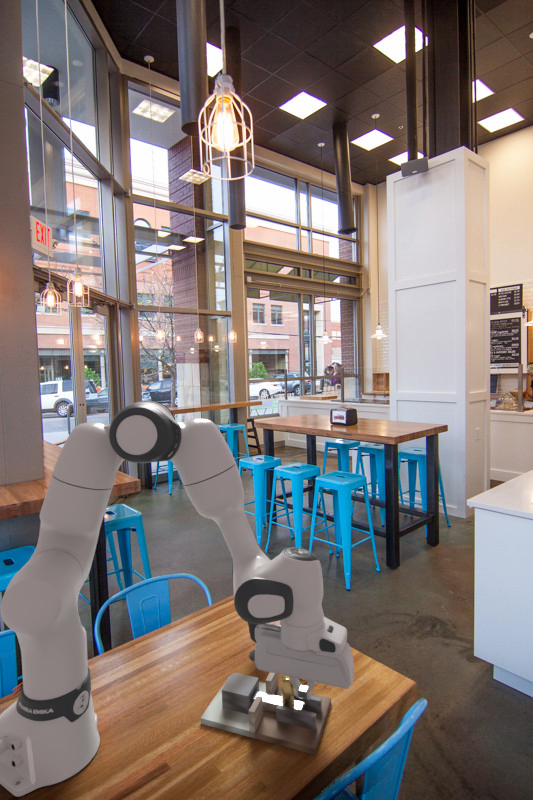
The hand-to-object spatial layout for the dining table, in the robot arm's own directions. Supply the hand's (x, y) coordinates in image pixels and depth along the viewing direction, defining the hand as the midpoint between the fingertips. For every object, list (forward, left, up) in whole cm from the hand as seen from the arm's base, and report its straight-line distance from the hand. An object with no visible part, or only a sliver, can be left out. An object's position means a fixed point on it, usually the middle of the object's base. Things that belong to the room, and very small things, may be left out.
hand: (303, 696), depth 89 cm
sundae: (-17, +18, -6) cm, 26 cm away
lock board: (-8, 0, -5) cm, 10 cm away
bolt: (-6, 0, -4) cm, 7 cm away
